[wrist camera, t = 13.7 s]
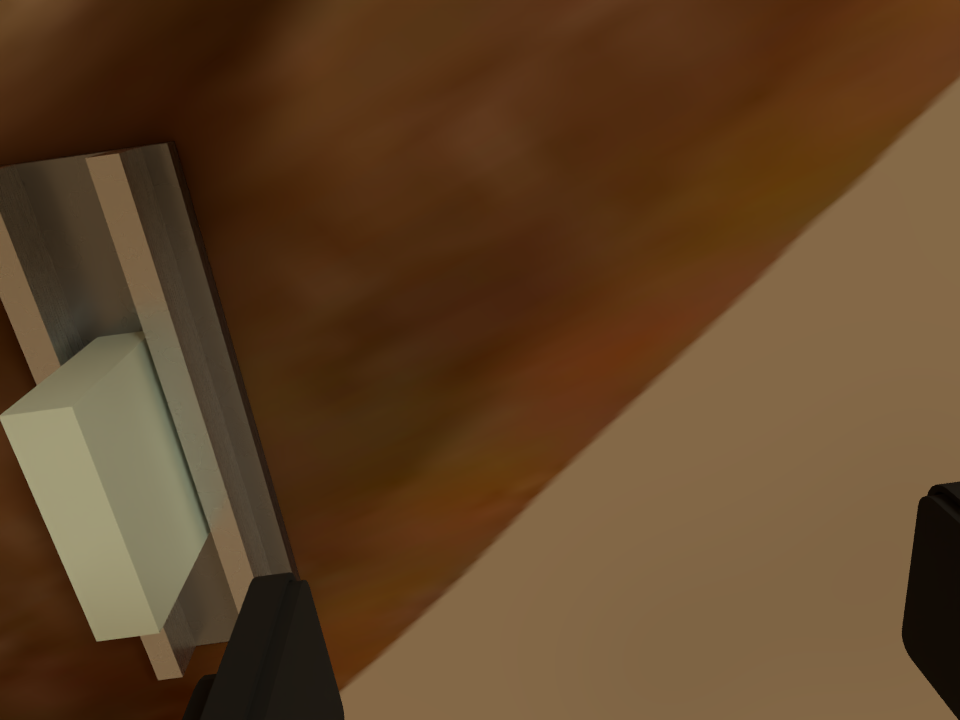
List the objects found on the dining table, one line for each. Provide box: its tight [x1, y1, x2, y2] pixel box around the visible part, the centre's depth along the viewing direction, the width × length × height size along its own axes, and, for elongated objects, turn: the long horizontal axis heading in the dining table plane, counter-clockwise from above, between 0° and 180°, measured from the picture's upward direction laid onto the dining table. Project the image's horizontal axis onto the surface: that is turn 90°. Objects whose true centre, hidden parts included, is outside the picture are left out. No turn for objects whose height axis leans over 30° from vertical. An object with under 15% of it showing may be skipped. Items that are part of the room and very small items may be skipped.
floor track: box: [0, 141, 300, 680], centre depth 39 cm, size 30×10×4 cm, turn 8°
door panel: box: [0, 331, 211, 641], centre depth 36 cm, size 12×3×9 cm, turn 7°
